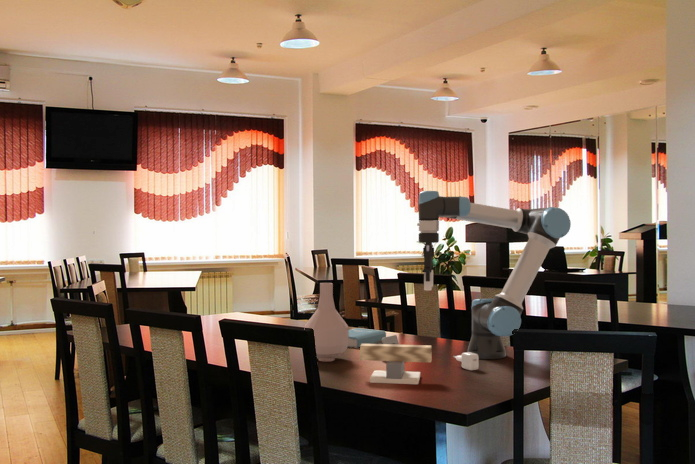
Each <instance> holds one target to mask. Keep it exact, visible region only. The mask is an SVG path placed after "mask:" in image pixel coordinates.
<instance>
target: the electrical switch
mask: <svg viewBox="0 0 695 464" xmlns="http://www.w3.org/2000/svg"><path fill="white" fill-rule="evenodd" d="M377 344H397V345H400V343H399V339H398V335H397V334H392V335H389V336H386V337H384V338H382V340H380V341H378V343H377Z"/></svg>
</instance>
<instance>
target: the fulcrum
mask: <svg viewBox="0 0 695 464" xmlns="http://www.w3.org/2000/svg"><path fill="white" fill-rule="evenodd" d="M405 366H406V365H405V362H399V361H386V370H379V369H378V370H375V369H374V371H373V372H372V374H371V375H370V377H369V383H371V384H372V383H374V384H375V383H376V384H395V385H396V384H398V385H399V384H400V385H419V383H420V378H421V371H406V370H405Z"/></svg>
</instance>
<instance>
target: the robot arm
mask: <svg viewBox="0 0 695 464" xmlns="http://www.w3.org/2000/svg"><path fill="white" fill-rule="evenodd" d="M440 218H447V219H452V220H460V221H464V222H465V221H466V222H471V223H477V224H483V225H487V226H489V225H490V226H496V227H501V228H508V229H512V231H513V232H516V233H521V234H525V235H527V237H528V240H527V242H526V244H525V246H524V248H523V249H522V252H521V253H520V255H519V257H518V260H517V262H516V263H515V265H514V267H513V270H512V271H511V273H510V274H509V277H508V279H507V280H506V282H505V284H504V286H503V288H502V290H501V292H500V293H498V294H495V295H494V297H493V298H477V299H473V300H472V301H471V307H470V308H471V337H470V341H469V344H468V347H467V351H466V352H472V353H475V354H478V357H479V359H483V360H499V359H503V358H504V359H505V358H506V356H507V351H506V348H505V345H504V342H503V338H502V337H504V338H505V337H510V336H513V335H514V334H512V331H513V330H514V329H518V330H519V328H520V327H521V324H522V318H521V315H522V313H523V311H524V307H523V302H524V299H525V297H526V295H527V293H528V291H530V287H531V286H532V284H533V282H534V280H535V278H536V277H537V274H538V273H539V271H540V268H541V267H542V264H543V263H544V260H545V259H546V257H547V255H548V253H549V251H550V250H551V249H553V248H555V247H557V244H558V243H559V241H560V239H562V238H564V237H565V236H566V235H568V234H569V232H570V230H571V225H572V224H571V219H570V216H569V214H568V212H566V211H565V210H564V209H562V208H560V207H555V206H549V207H540V208H519V207H518V208H516V209H511V208H504V207H498V206H493V205H487V204H481V203H475V202H471V201H470V198H469V197H468V196H440V194H439V191H438V190H422V191H420V192H419V194H418V223H417V224H416V226H417V227H418V231H419V233H418V243H419V244H420V243H422V244H423V243H424V244H425V245H424V246H423V250H422V252H423V260H424V261H423V262H424V263H423V269H422V271H421V273H423V291H432V289H433V288H434V271H435V269H436V268H435V266H434V257H435V256H434V255H435V247H434V245H433V243H434V244H436V243H439V241H440V236H439V234H440V233H439V231H440Z"/></svg>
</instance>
